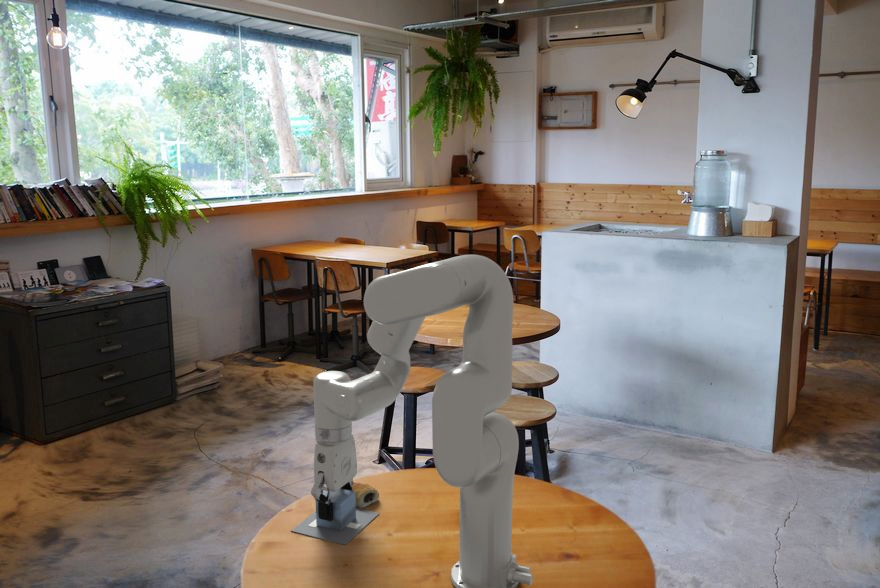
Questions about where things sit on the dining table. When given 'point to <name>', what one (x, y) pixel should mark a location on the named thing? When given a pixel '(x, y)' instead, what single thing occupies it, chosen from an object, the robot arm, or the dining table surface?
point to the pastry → (364, 494)
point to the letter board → (334, 535)
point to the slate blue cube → (340, 509)
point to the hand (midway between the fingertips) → (335, 510)
